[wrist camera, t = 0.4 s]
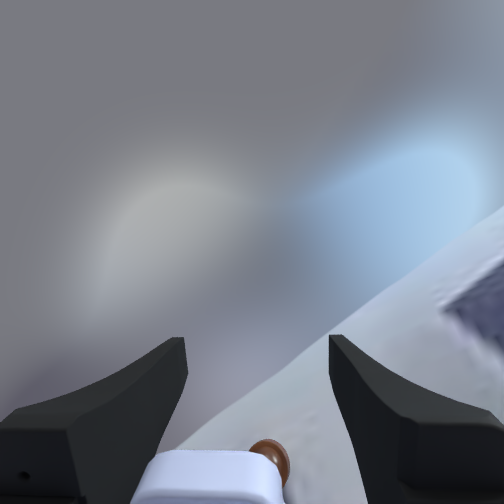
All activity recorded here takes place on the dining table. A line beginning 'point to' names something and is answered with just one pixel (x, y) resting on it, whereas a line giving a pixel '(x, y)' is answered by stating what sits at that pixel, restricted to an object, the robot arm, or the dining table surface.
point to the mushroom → (274, 456)
